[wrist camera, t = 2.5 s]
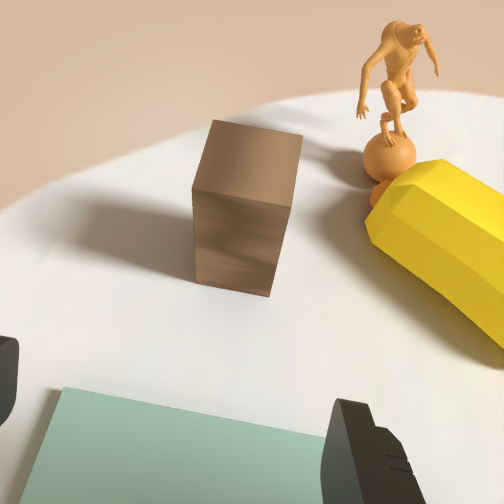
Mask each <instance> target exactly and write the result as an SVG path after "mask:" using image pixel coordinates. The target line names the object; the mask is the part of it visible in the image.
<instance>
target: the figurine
mask: <svg viewBox="0 0 504 504" xmlns="http://www.w3.org/2000/svg"><path fill="white" fill-rule="evenodd" d="M423 42H424V46H425V48H426V51H427V53H428V55H429V57H430V59H431V60H432V61H433V63H434V67H435V73H436V75H437V77H438V71H439V70H438V61H437V57H436V53H435V51H434V49H433V47H432V46H431V42H430V38H429V36H428V35H427V34H426V33H425V29H424V26H423V25H421V24H417V25H409V24H406V23H404V22H402V21H394V22H391V23H389V24H388V25H387V26H386V27H385V28H384V30H383V32H382V36H381V44H380V46H379V48H378V49H377V51H376V52H375V53H374V54H373V55H372V56H371V57H370V58H369V59H368V60H367V62H366V63H365V64H364V66H363V68H362V74H361V85H360V96H359V102H358V106H357V118H358V114H360V119H362V113H363V116H364V118H365V119H366V117H365V109H366V110H367V111H368V112H369V109H368V107H367V106H366V105H365V104H364V101H365V97H366V94H367V89H368V79H369V75H370V70H371V68H372V67H373V66H375V65H376V64H377V63H378V62H379V61H380V60H382V59H383V58H384V59H385V63H386V67H387V75H388V80H387V81H384V82H383V83H382V85H381V91H382V94H383V99H384V101H385V105H386V108H387V110H388V111H389V113H388V112H385V113H383V114H382V115H381V120H380V126H381V131H382V133H379V134H377V135H376V136H374V137H373V138H372V139H371V140H370V141H369V142H368V143H367V145H366V147H365V149H364V152H363V165H364V168H365V170H366V172H367V173H368V175H369V176H370V177H372V178H373V179H374V180H376V181H378V182H383V181H385V180H390V181H393V180H394V179H395V178H397V177H398V176H399V175H401V174H402V173H404V172H405V171H406V170H408V169H409V168H411V167H412V166H413V165H415V162H416V150H415V147H414V144H413V143H412V141H411V140H410V139H409V138H408V137H407V134H406V132H405V131H404V130H403V129H402V127H401V123H400V118H399V116H400V114H402V113H405V112H407V111H410V110H413V109H414V108H415V107H416V106H417V104H418V99H417V98H416V95H415V91H414V87H413V83H412V82H413V79H412V71H411V69H408V66H410V65H411V64H412V62H413V61H414V59H415V57H416V55H417V52H418V45H420V44H422V43H423ZM398 89H399V90H398ZM402 99H404V100H405V102H406V104H404V103H401V100H402ZM392 120H394V128H395V130H394V131H388V127H387V123H386V122H390V121H392Z"/></svg>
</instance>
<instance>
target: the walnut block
mask: <svg viewBox="0 0 504 504" xmlns="http://www.w3.org/2000/svg"><path fill="white" fill-rule="evenodd" d="M302 137H303V136H302V135H296V134H291V133H285V132H280V131H274V130H269V129H263V128H257V127H252V126H246V125H241V124H235V123H230V122H224V121H219V120H213V122H212V125H211V128H210V131H209V134H208V138H207V141H206V144H205V147H204V151H203V154H202V157H201V160H200V163H199V167H198V170H197V173H196V176H195V179H194V183H193V186H192V206H193V228H194V249H195V271H196V284H202V285H207V286H212V287H217V288H223V289H228V290H233V291H238V292H244V293H249V294H254V295H259V296H265V297H269V296H270V292H271V288H272V284H273V280H274V276H275V271H276V267H277V263H278V259H279V255H280V251H281V247H282V243H283V239H284V235H285V231H286V227H287V223H288V218H289V214H290V210H291V206H292V200H293V193H294V187H295V181H296V175H297V168H298V162H299V156H300V150H301V143H302Z"/></svg>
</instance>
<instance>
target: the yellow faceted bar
mask: <svg viewBox="0 0 504 504" xmlns="http://www.w3.org/2000/svg"><path fill="white" fill-rule="evenodd" d="M369 203H370V205H371V207H372V208H373V209H372V211H371V212H370V214H369V215H368V217H367V218H366V220H365V221H364V222H365V225H366V228H367V231H368V234H369V237H370V239H371V242H372V243H373V244H374V245H375V246H377V247H378V248H379V249H381V250H382V251H383V252H385V253H386V254H387V255H389V256H390V257H391V258H393V259H394V260H395V261H397V262H398V263H400V264H401V265H402V266H404V267H405V268H406V269H408V270H409V271H410V272H412V273H413V274H414V275H416V276H417V277H418V278H420V279H421V280H422V281H424V282H425V283H427V284H428V285H429V286H431V287H432V288H433V289H435V290H436V291H437V292H439V293H440V294H441V295H443V296H444V297H445V298H447V299H448V300H449V301H450V302H451V303H452V304H453V305H455V306H456V307H457V308H458V309H459V310H460V311H461V312H462V313H464V314H465V315H466V316H467V317H468V318H469V319H470V320H471V321H473V322H474V323H475V324H476V325H477V326H478V327H479V328H480V329H482V330H483V331H484V332H485V333H486V334H487V335H488V336H489V337H491V338H492V339H493V340H494V341H495V342H496V343H497V344H499V345H500V346H501V347H502V348H503V349H504V195H502V194H500V193H499V192H497V191H495V190H494V189H492V188H490V187H489V186H487V185H485V184H484V183H482V182H480V181H479V180H477V179H476V178H474V177H472V176H471V175H469V174H467V173H466V172H464V171H462V170H461V169H459V168H457V167H456V166H454V165H452V164H451V163H449V162H448V161H446V160H444V159H440V160H433V161H427V162H420V163H416V164H415V165H413V166H412V167H411V168H409V169H408V170H406V171H405V172H404V173H402V174H401V175H399V176H398V177H397V178H395V179H394V180H393V181H390V180H385V181H383V182H381V183H380V184H378V185H376V186H375V187H373V190H372V193H371V196H370V199H369Z"/></svg>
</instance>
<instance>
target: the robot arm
mask: <svg viewBox="0 0 504 504" xmlns="http://www.w3.org/2000/svg"><path fill="white" fill-rule="evenodd" d="M18 360H19V343H18V341H17V339H15V338H11V337H5V336H0V426H1V425H2V424H3V423H4V422H5V421H6V420H7V418H8V417H9V415H10V413H11V411H12V409H13V406H14V404H15V400H16V392H17V376H18ZM320 482H321V490H322V498H323V504H426V502H425V500H424V498H423V495H422V493H421V490H420V488H419V485H418V483H417V480H416V478H415V476H414V475H413V471H412V468H411V466H410V463H409V462H407V456H406V454H405V451H404V449H403V446H402V444H401V442H400V441H399V440H398V439H397V438H396V437H395V436H394V435H393V434H392V433H391V432H390V431H389V430H388V429H387V428H383V427H377V426H375V423H374V420H373V418H372V415H371V412H370V409H369V406H368V404H366V403H361V402H356V401H350V400H345V399H339V398H337V399H336V401H335V403H334V406H333V410H332V414H331V418H330V423H329V427H328V431H327V436H326V440H325V444H324V449H323V453H322V459H321V468H320Z"/></svg>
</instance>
